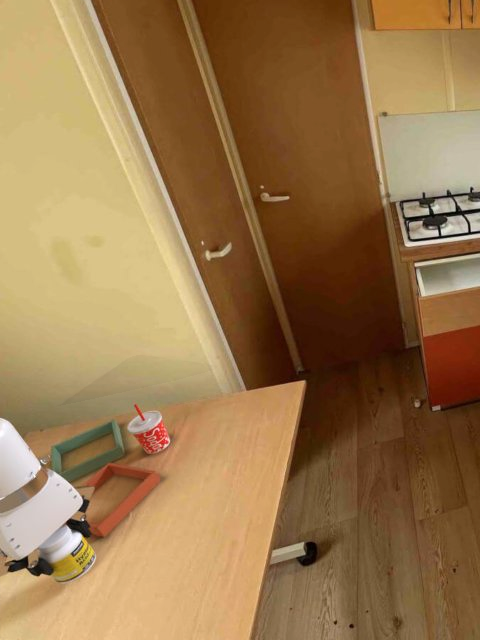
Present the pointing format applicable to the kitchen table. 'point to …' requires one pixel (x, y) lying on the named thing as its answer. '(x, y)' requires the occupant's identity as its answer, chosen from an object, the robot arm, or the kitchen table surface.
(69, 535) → the supplement bottle
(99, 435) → the bin
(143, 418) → the beverage cup
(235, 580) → the kitchen table surface
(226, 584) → the kitchen table surface
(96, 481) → the bin
